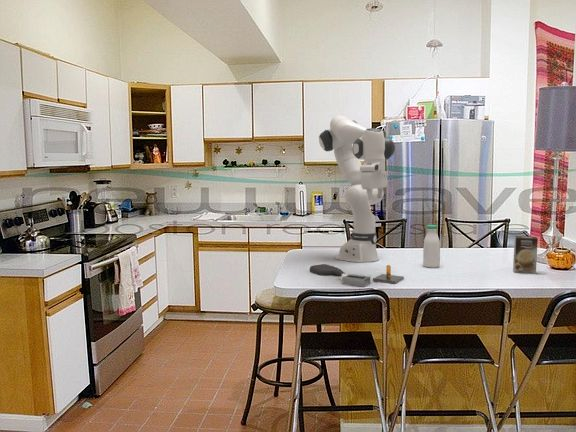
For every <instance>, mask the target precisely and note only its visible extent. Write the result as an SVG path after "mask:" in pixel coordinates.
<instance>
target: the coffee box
mask: <svg viewBox="0 0 576 432" xmlns="http://www.w3.org/2000/svg"><path fill="white" fill-rule="evenodd" d="M538 239H539V238H538V237H537V236H526V235H524V236H522V235H515V236H514V242H513V243H514V244H513V265H512V271H513V272H514V273H516V274H527V273H529V274H531V275H536V274H537V262H538V261H537V259H538V257H537V256H538V243H539V242H538V241H539V240H538Z"/></svg>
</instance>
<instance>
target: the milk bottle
mask: <svg viewBox="0 0 576 432" xmlns="http://www.w3.org/2000/svg"><path fill="white" fill-rule="evenodd" d="M426 230H427V231H426V235H425V237H424V240H423V251H422V253H423V254H422V259H423V260H422V266H423V267H424V268H432V269H434V268H439V267H440V266H441V264H440V263H441V241H440V238H439V235H438V233H437V230H438V225H437V224H427V226H426Z"/></svg>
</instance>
